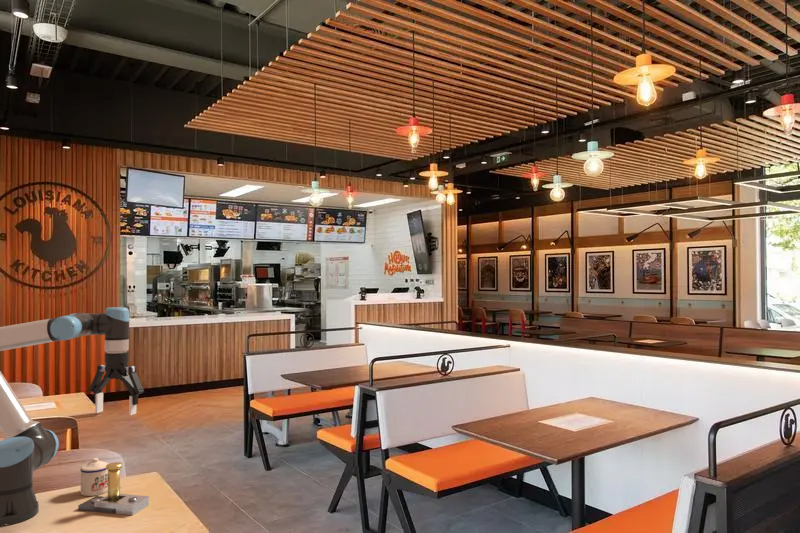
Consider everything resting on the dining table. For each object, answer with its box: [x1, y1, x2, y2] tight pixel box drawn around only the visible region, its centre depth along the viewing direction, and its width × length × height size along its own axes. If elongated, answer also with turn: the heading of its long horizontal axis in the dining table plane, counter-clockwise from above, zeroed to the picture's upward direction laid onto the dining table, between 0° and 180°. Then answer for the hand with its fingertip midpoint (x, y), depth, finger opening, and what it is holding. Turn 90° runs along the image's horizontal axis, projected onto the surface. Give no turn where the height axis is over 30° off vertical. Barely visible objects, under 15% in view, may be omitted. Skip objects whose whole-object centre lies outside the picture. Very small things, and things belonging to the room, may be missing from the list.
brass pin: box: [106, 461, 123, 502], centre depth 184 cm, size 5×5×14 cm
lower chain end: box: [77, 495, 116, 514], centre depth 184 cm, size 14×8×2 cm, turn 78°
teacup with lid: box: [80, 457, 110, 497], centre depth 199 cm, size 12×9×12 cm
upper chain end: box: [94, 493, 150, 516], centre depth 183 cm, size 14×8×4 cm, turn 78°
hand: (115, 413), depth 194 cm, fingers open, 13 cm apart
